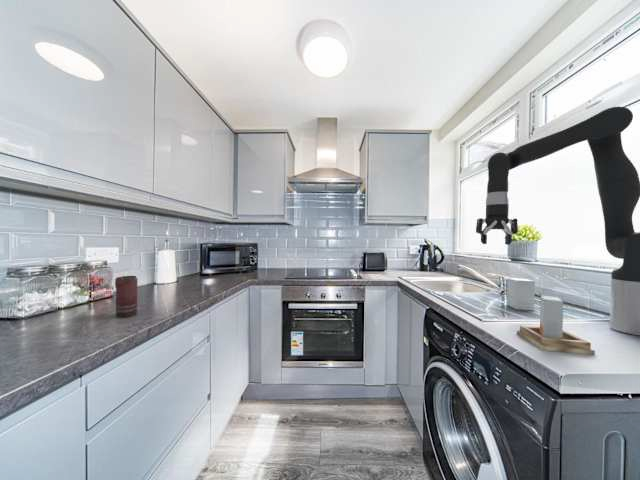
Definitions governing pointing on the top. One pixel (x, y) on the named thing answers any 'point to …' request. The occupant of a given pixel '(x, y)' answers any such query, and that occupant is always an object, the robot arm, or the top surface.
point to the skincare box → (551, 317)
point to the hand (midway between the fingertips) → (495, 244)
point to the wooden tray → (556, 341)
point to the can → (126, 296)
